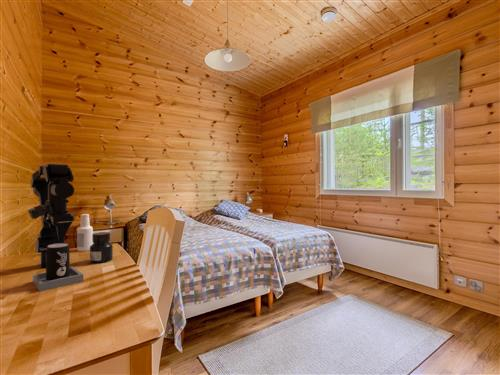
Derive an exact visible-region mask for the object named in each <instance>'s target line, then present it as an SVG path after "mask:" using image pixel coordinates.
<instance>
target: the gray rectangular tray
mask: <svg viewBox="0 0 500 375" xmlns="http://www.w3.org/2000/svg"><path fill="white" fill-rule="evenodd" d="M81 282H82V283H83V282H84V274H83V273H82V272H81V271H79V270H78V269H77V268H76V267H74V266H71V267H70V275H69V277H65V278H60V279H55V280H51V281H47V280H46V271H45V272H40V273H34V274H32V283H33V284H34V286H35V287H36V290H38V292H44V291H47V290H51V289H56V288H60V287H64V286H70V285H73V284H78V283H81Z"/></svg>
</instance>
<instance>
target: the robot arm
mask: <svg viewBox="0 0 500 375" xmlns="http://www.w3.org/2000/svg"><path fill="white" fill-rule="evenodd" d="M41 176H43V177H41ZM72 182H74V174H73V171H72V169H71V167H69V165H68V164H65V163H64V164H63V163H47V164H45V165H39V166H38V170H36V171H35V172H33V174H32V175H31V178H30V187H31V188H32V191H33V192H32V193H33V194H34V195H35V196H36V197H38V202H39V205H37V206H34V207H32V208H30V209H27V212H28V214H29V216H30V219H31V220H35V219H38V218H39V217H40V219H41V230H40V231H39V234H38V235H37V236H38V237H37V238H36V241H35V245H34V246H35V247H34V248H35V252H36V253H37V254H39V253H40V263H38V264H37V265H38V267H39V268H40V269H46V250H47V248H48V245H52V244H58V243H65V240H66V238H65V237H66V234H67V233H68V231H69V229H70V227H71V225H72V224H73V222H74V221H75V215H74V214H72V213H71V212H69V210H68V203H69V199H68V198H70V197H72V196H73V194H74V193H75V188H74V186H73V184H71V183H72Z"/></svg>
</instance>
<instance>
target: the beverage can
mask: <svg viewBox="0 0 500 375" xmlns="http://www.w3.org/2000/svg"><path fill="white" fill-rule="evenodd" d="M70 266H71V265H70V247H69V244H68V243H66V242H64V243H58V244H52V245H48V248H47V250H46V267H45V272H46V280H47V281H51V280H55V279H60V278H65V277H69V275H70Z"/></svg>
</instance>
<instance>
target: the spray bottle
mask: <svg viewBox="0 0 500 375" xmlns="http://www.w3.org/2000/svg"><path fill="white" fill-rule="evenodd" d="M90 223H91V222H90V214H89V213H84V214H81V216H80V226H78V227H77V229H76V230H77V231H76V235H77V237H76V245H77V246H76V250H77V251H78V252H87V251H90V246H91V245H92V244H93V242H92V234H93V233H94V229H93V228H94V227H93V226H91V225H90Z"/></svg>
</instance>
